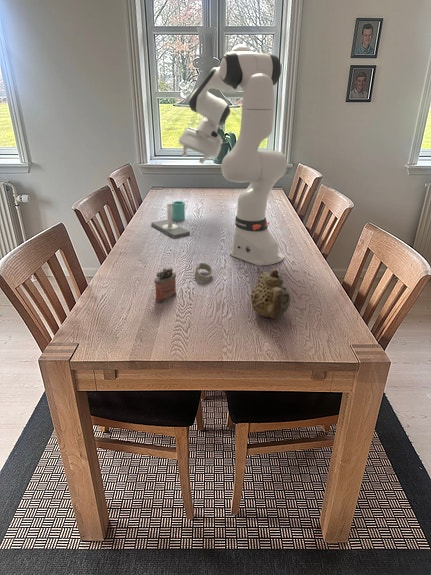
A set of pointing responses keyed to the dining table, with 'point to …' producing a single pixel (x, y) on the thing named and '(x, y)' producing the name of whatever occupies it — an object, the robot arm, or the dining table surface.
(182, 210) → the collar
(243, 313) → the dining table surface
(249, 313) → the dining table surface
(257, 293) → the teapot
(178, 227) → the post stand
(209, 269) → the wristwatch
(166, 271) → the lighter
